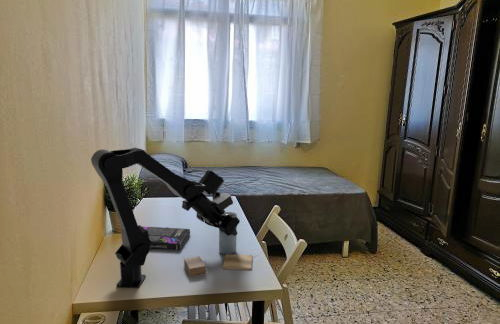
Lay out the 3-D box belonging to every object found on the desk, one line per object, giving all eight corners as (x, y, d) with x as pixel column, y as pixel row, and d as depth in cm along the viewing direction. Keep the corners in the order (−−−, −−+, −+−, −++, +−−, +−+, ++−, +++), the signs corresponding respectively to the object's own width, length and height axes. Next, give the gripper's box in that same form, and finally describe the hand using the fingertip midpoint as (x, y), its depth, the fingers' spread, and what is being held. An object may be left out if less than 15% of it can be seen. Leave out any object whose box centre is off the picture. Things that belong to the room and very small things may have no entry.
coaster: (251, 269, 112) (251, 267, 112) (222, 268, 112) (222, 267, 112) (252, 256, 121) (252, 255, 121) (225, 256, 121) (225, 254, 121)
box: (126, 250, 126) (180, 252, 125) (125, 241, 126) (180, 242, 124) (142, 234, 140) (190, 236, 138) (141, 226, 139) (190, 227, 138)
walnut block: (206, 275, 109) (205, 265, 108) (189, 278, 107) (189, 268, 106) (199, 265, 115) (199, 256, 115) (184, 267, 113) (184, 258, 113)
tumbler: (235, 254, 121) (236, 217, 119) (218, 253, 121) (218, 216, 119) (236, 247, 127) (237, 211, 125) (220, 246, 127) (220, 211, 125)
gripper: (235, 193, 110) (261, 220, 119) (204, 181, 125) (229, 206, 134) (213, 222, 107) (242, 248, 116) (183, 206, 121) (211, 230, 130)
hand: (231, 231), depth 124 cm, fingers closed on tumbler, 6 cm apart
